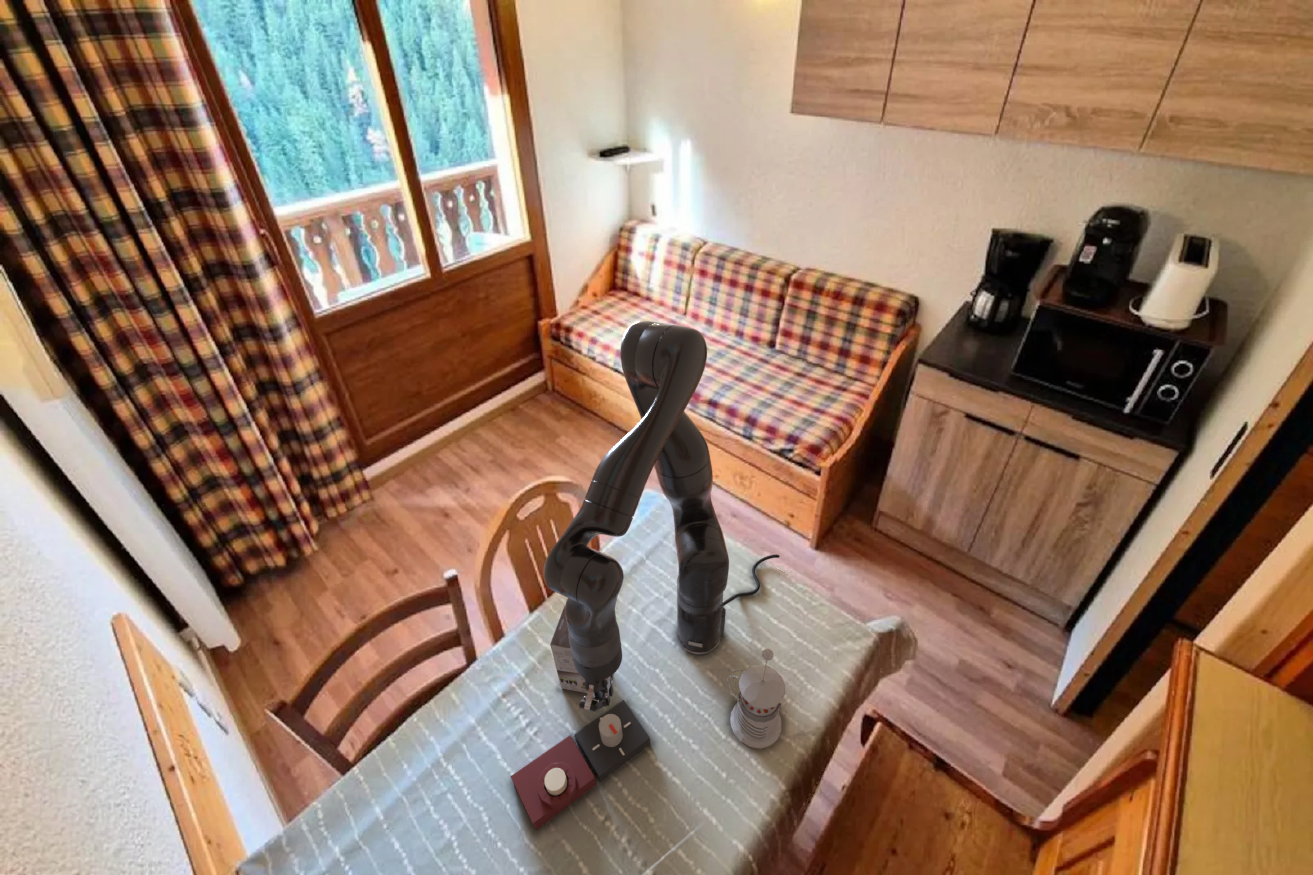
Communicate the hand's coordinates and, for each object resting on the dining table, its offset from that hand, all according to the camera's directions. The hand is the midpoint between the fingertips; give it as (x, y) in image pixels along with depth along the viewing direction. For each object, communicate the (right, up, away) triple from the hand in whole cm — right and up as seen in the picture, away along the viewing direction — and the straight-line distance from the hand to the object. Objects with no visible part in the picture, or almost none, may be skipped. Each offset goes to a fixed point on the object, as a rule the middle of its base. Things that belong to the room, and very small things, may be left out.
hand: (605, 698), depth 97 cm
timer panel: (+1, -13, +11) cm, 17 cm away
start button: (-8, -15, +1) cm, 17 cm away
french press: (+27, -10, +14) cm, 32 cm away
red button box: (-9, -18, +6) cm, 21 cm away
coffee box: (-7, -4, +22) cm, 24 cm away
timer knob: (0, -11, +9) cm, 14 cm away
